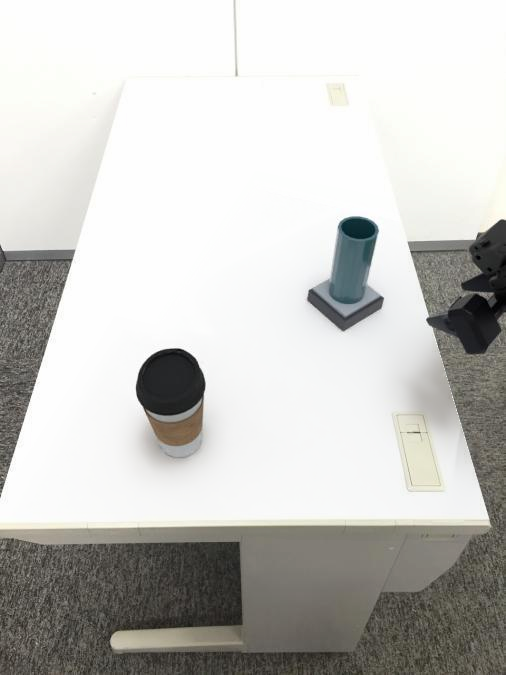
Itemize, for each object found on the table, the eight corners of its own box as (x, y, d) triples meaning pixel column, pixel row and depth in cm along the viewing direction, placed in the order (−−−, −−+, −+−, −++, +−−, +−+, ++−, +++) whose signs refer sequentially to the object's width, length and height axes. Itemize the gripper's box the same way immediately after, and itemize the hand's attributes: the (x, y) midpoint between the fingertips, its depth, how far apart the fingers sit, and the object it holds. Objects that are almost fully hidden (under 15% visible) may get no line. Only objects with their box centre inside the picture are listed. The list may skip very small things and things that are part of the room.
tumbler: (371, 298, 88) (386, 234, 78) (339, 308, 86) (351, 245, 76) (352, 275, 91) (365, 212, 82) (322, 285, 90) (330, 221, 80)
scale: (381, 308, 91) (385, 295, 88) (342, 331, 87) (345, 318, 85) (345, 279, 95) (347, 266, 93) (307, 300, 92) (308, 287, 89)
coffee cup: (219, 420, 76) (213, 354, 64) (199, 473, 70) (189, 410, 59) (164, 407, 77) (149, 339, 66) (140, 457, 72) (120, 393, 60)
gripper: (567, 182, 62) (454, 221, 75) (492, 259, 53) (379, 287, 66) (603, 265, 64) (487, 288, 77) (537, 351, 55) (419, 361, 68)
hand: (445, 303), depth 72 cm, fingers open, 9 cm apart
